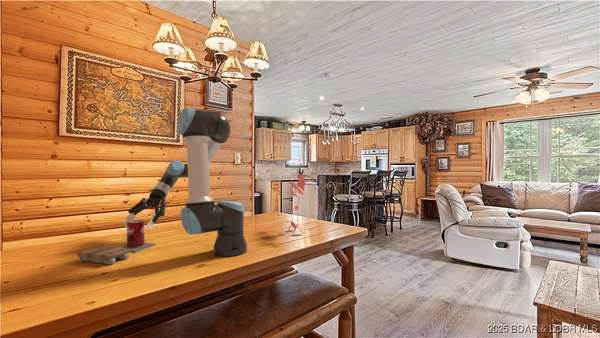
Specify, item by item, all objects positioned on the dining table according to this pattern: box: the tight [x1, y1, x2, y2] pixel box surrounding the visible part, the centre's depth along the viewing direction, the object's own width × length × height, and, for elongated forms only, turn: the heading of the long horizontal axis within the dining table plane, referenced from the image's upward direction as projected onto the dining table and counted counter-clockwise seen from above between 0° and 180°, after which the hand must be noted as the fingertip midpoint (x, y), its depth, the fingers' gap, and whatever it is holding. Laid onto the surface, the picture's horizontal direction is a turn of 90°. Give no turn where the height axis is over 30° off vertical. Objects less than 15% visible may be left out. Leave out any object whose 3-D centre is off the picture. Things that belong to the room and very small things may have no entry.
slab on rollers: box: [76, 244, 131, 265], centre depth 112 cm, size 16×10×4 cm, turn 75°
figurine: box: [287, 173, 307, 235], centre depth 161 cm, size 15×26×35 cm, turn 19°
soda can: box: [126, 219, 146, 248], centre depth 129 cm, size 7×7×12 cm
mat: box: [120, 242, 157, 253], centre depth 129 cm, size 12×12×1 cm
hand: (136, 226), depth 130 cm, fingers open, 13 cm apart
